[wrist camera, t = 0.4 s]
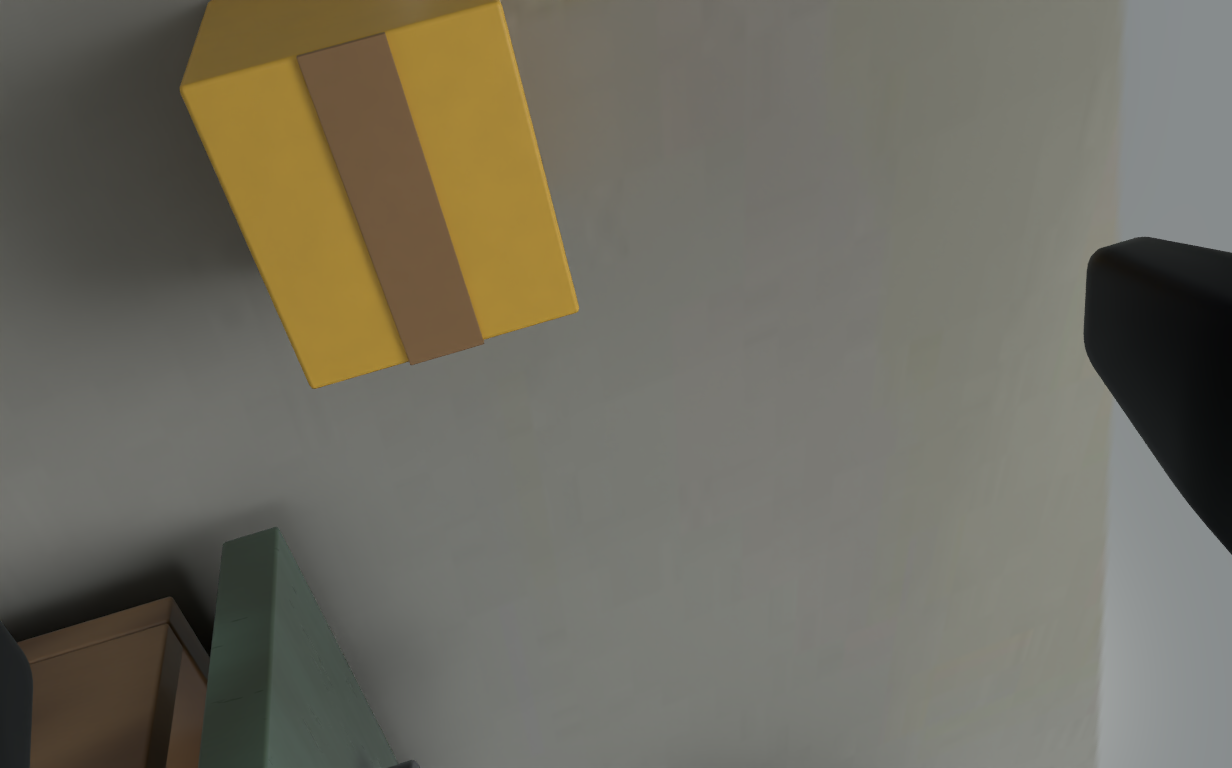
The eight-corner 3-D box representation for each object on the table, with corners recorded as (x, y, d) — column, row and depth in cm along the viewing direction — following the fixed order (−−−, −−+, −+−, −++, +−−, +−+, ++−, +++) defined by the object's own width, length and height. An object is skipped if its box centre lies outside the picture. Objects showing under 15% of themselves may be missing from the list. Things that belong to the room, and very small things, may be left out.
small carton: (535, 199, 21) (581, 315, 18) (312, 262, 21) (311, 394, 17) (464, -68, 19) (501, 1, 15) (206, 1, 18) (176, 90, 14)
